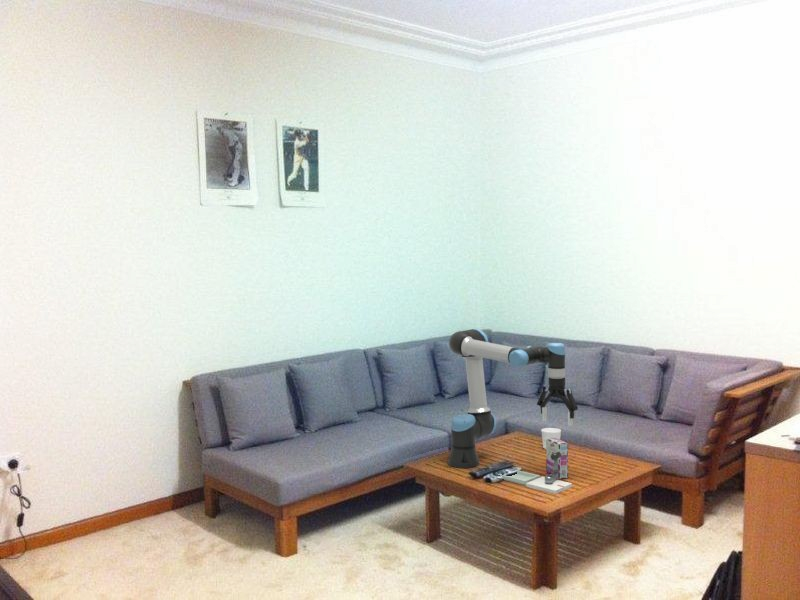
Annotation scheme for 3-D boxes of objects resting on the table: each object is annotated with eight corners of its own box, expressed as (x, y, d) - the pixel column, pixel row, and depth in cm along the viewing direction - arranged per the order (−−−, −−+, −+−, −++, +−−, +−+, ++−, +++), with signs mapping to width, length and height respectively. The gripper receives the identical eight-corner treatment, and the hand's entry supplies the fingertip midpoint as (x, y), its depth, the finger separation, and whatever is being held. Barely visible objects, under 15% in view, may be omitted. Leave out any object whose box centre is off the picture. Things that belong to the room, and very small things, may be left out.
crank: (550, 484, 314) (550, 458, 313) (543, 482, 316) (543, 457, 315) (562, 477, 323) (562, 452, 322) (554, 476, 325) (554, 451, 324)
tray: (494, 477, 331) (494, 473, 330) (508, 472, 338) (508, 468, 338) (525, 485, 319) (525, 481, 319) (539, 479, 326) (539, 475, 326)
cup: (537, 447, 380) (537, 429, 379) (553, 445, 384) (553, 427, 383) (549, 452, 371) (549, 433, 370) (565, 449, 375) (565, 431, 374)
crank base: (526, 486, 317) (526, 482, 317) (542, 479, 326) (542, 475, 326) (555, 494, 307) (555, 490, 307) (571, 486, 316) (571, 482, 316)
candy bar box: (568, 478, 328) (568, 442, 327) (559, 479, 326) (559, 443, 325) (555, 471, 338) (555, 437, 337) (545, 472, 336) (545, 438, 335)
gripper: (585, 378, 323) (585, 425, 324) (538, 373, 341) (538, 417, 342) (576, 381, 318) (577, 428, 319) (529, 375, 335) (529, 420, 337)
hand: (557, 423), depth 330 cm, fingers open, 13 cm apart
